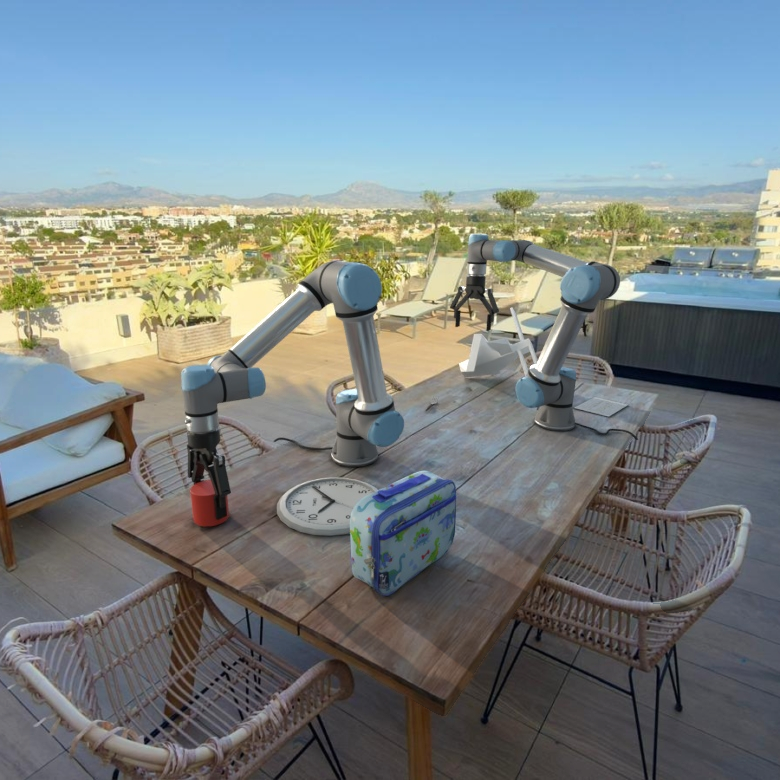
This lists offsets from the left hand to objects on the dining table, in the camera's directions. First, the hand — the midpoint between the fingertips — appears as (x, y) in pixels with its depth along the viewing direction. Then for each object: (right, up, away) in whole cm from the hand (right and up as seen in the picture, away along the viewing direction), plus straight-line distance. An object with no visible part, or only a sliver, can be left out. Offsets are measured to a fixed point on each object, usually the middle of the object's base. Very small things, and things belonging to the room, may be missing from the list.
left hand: (211, 510), depth 134 cm
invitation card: (+137, +24, +92) cm, 167 cm away
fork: (+63, +24, +89) cm, 112 cm away
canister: (0, -2, 0) cm, 2 cm away
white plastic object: (+99, +34, +123) cm, 161 cm away
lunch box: (+49, -9, -17) cm, 53 cm away
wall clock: (+30, -1, +9) cm, 31 cm away
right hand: (+79, +56, +78) cm, 125 cm away
